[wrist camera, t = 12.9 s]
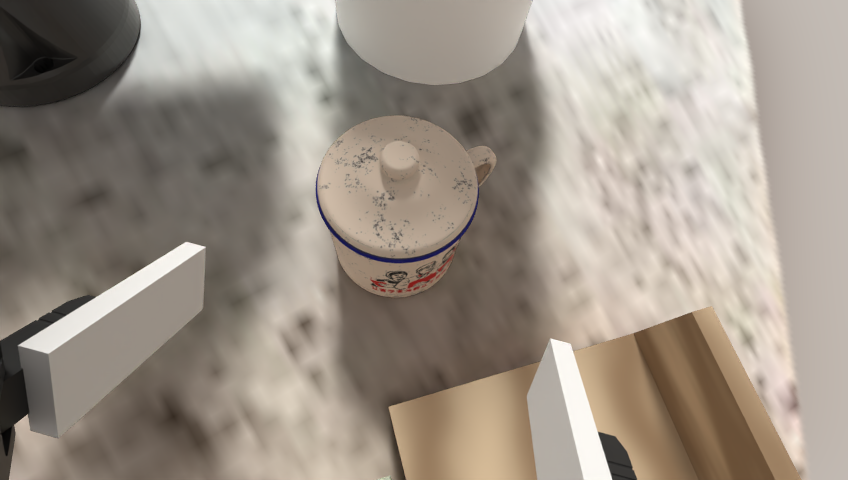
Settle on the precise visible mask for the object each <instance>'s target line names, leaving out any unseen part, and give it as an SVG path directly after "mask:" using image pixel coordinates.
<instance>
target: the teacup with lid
mask: <svg viewBox="0 0 848 480" xmlns="http://www.w3.org/2000/svg"><path fill="white" fill-rule="evenodd" d="M495 165H496V156H495V154H494V152H493V151H492V150H491V149H490V148H489V147H487V146H477V147H474V148H471V149H469V150H467V151H466V150H465V149H464V148H463V146H462V145H461V144H460V143H459V142H458V141H457V140H456V139H455V138H454V137H453V136H452V135H451V134H449V133H448V132H447V131H445V130H444V129H442V128H441V127H439V126H437V125H435V124H433V123H431V122H428V121H426V120H423V119H419V118H415V117H410V116H397V115H393V116H383V117H377V118H373V119H370V120H367V121H364V122H362V123H359V124H358V125H356V126H354V127H352V128H351V129H349V130H348V131H346V132H345V133H344V134H342V135H341V136H340V137H339V138H338V139H337V140H336V141H335V142H334V143H333V144H332V145H331V147H330V148H329V150H328V151H327V153H326V154H325V156H324V158H323V160H322V163H321V165H320V168H319V171H318V174H317V180H316V199H317V204H318V208H319V211H320V214H321V216H322V219H323V220H324V222H325V224H326V226H327V227H328V229H329V230H330V232H331V235H332V239H333V242H334V245H335V249H336V252H337V255H338V259H339V261H340V263H341V265H342V267H343V269H344V271H345V272H346V273H347V275H348V276H349V277H350V278H351V279H352V280H353V281H354V282H355V283H356V284H357V285H359V286H360V287H362V288H363V289H365V290H367V291H369V292H371V293H374V294H376V295H380V296H385V297H394V298H395V297H407V296H412V295H415V294H418V293H420V292H423V291H425V290H427V289H428V288H430V287H431V286H433V285H434V284H435V283H436V282H438V281H439V280H440V279H441V278H442V276H443V275H444V274H445V273H446V271H447V269H448V268H449V266H450V264H451V262H452V259H453V257H454V254H455V252H456V249H457V246H458V244H459V241H460V239H461V237H462V235H463V234H464V233H465V232H466V230H467V229H468V227H469V226H470V224H471V222H472V220H473V218H474V215H475V212H476V209H477V205H478V198H479V187H480V186H481V185H482V184H483V182H484V181H485V180H486V179H487V178H488V177H489V175H490V174H491V172H492V171H493V169H494V167H495Z"/></svg>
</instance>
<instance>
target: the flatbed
mask: <svg viewBox="0 0 848 480" xmlns="http://www.w3.org/2000/svg"><path fill="white" fill-rule="evenodd" d="M573 353H574V356H575V360H576V363H577V366H578V369H579V373H580V376H581V379H582V382H583V386H584V389H585V392H586V395H587V399H588V402H589V405H590V409H591V412H592V415H593V418H594V422H595V425H596V428H597V431H598V432H602V433H605V434H609V435H613V436H616V438H617V439H618V440H619V442H620V443H621V444H622V446H623V447H624V448H625V450H626V451H627V453H628V455H629V458H630V461H631V464H632V466H633V470H634V472H635V475H636V477H637V480H801V478H800V476H799V474H798V472H797V470H796V468H795V467H794V465H793V463H792V461H791V459H790V457H789V455H788V453H787V451H786V449H785V447H784V445H783V443H782V441H781V439H780V437H779V435H778V434H777V432H776V430H775V428H774V426H773V424H772V422H771V420H770V418H769V416H768V414H767V412H766V410H765V408H764V406H763V404H762V403H761V401H760V399H759V397H758V395H757V393H756V391H755V389H754V387H753V385H752V383H751V381H750V379H749V377H748V375H747V373H746V371H745V370H744V368H743V366H742V364H741V362H740V360H739V358H738V356H737V354H736V352H735V350H734V348H733V346H732V344H731V342H730V340H729V338H728V337H727V335H726V333H725V331H724V329H723V327H722V325H721V323H720V321H719V319H718V317H717V315H716V313H715V311H714V309H713V307H712V306H711V307H708V308H704V309H701V310H697V311H694V312H691V313H688V314H685V315H683V316H680V317H677V318H675V319H672V320H669V321H666V322H664V323H661V324H658V325H655V326H653V327H650V328H647V329H644V330H642V331H639V332H636V333H633V334H630V335H627V336H623V337H620V338H617V339H613V340H610V341H607V342H603V343H600V344H596V345H593V346H590V347H586V348H583V349H580V350H576V351H573ZM540 362H541V361H540ZM540 362H536V363H533V364H530V365H526V366H523V367H520V368H516V369H513V370H510V371H506V372H503V373H500V374H496V375H493V376H489V377H486V378H483V379H479V380H476V381H473V382H469V383H466V384H463V385H459V386H456V387H453V388H449V389H446V390H443V391H439V392H436V393H433V394H429V395H426V396H423V397H419V398H416V399H413V400H409V401H406V402H403V403H399V404H396V405H393V406H389V412H390V416H391V420H392V425H393V429H394V433H395V437H396V441H397V445H398V449H399V453H400V458H401V462H402V466H403V470H404V474H405V478H406V480H537V473H536V466H535V458H534V450H533V442H532V434H531V426H530V419H529V411H528V403H527V394H528V391H529V389H530V387H531V384H532V382H533V379H534V377H535V374H536V372H537V369H538V367H539V365H540Z"/></svg>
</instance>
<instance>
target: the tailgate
mask: <svg viewBox="0 0 848 480" xmlns="http://www.w3.org/2000/svg"><path fill="white" fill-rule="evenodd" d="M377 480H392V478H391V475H390V476H387V477H384V478H380V479H377Z"/></svg>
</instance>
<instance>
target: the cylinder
mask: <svg viewBox="0 0 848 480" xmlns="http://www.w3.org/2000/svg"><path fill="white" fill-rule="evenodd" d="M532 1H533V0H335V4H336V12H337V20H338V26H339V28H340V30H341V32H342V34H343V36H344V38H345V40H346V42H347V44H348V45H349V46H350V47H351V48H352V49H353V50H354V51H355V52H356V53H357V54H358V55H359V57H360V58H361V59H362V60H364V61H365V62H367V63H368V64H370V65H372V66H373V67H375V68H376V69H378V70H379V71H381V72H382V73H385V74H388V75H390V76H393V77H396V78H399V79H401V80H404V81H407V82H414V83H421V84H428V85H443V84H456V83H462V82H465V81H468V80H472V79H475V78H478V77H481V76H484V75H485V74H487V73H488V72H490V71H492V70H493V69H495V68H496V67H498V66H500V65H501V64H502V63H503V62H504V61H505V60H506V59H507V58H508V56H509V55H510V54H511V53H512V52H513V51H514V50H515V47H516V45H517V42H518V40H519V38H520V35H521V33H522V30H523V27H524V24H525V21H526V18H527V15H528V12H529V9H530V6H531V4H532Z"/></svg>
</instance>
